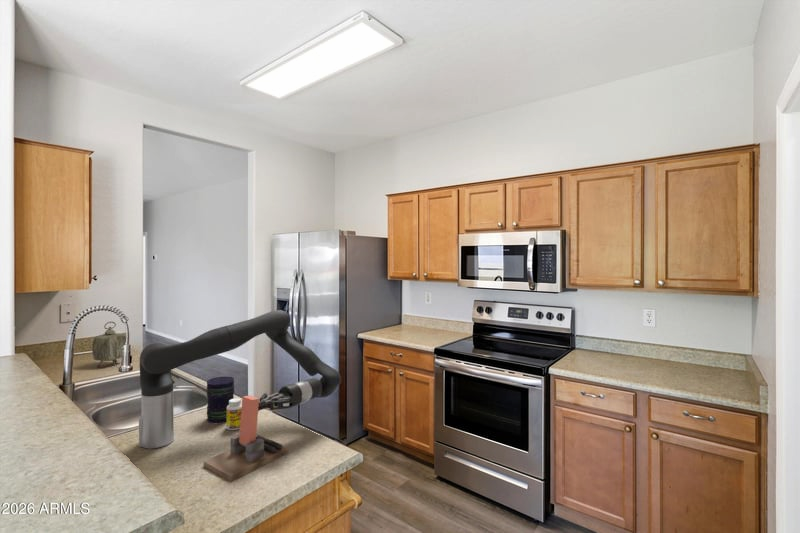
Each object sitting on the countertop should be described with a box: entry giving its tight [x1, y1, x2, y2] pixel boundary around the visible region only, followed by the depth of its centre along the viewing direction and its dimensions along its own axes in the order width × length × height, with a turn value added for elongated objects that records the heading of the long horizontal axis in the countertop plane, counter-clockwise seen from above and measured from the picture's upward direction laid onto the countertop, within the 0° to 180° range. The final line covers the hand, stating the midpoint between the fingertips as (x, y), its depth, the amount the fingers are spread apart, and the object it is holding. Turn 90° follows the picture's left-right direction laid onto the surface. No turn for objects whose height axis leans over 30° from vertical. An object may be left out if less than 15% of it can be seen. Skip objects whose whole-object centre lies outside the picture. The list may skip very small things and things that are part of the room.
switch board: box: [203, 433, 289, 482], centre depth 124 cm, size 20×14×6 cm
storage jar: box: [206, 376, 235, 424], centre depth 155 cm, size 10×10×15 cm
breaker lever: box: [239, 395, 260, 447], centre depth 125 cm, size 2×5×15 cm, turn 56°
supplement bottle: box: [226, 397, 242, 431], centre depth 147 cm, size 6×6×10 cm
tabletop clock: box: [91, 321, 127, 369], centre depth 228 cm, size 14×9×25 cm, turn 168°
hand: (253, 408), depth 126 cm, fingers closed
